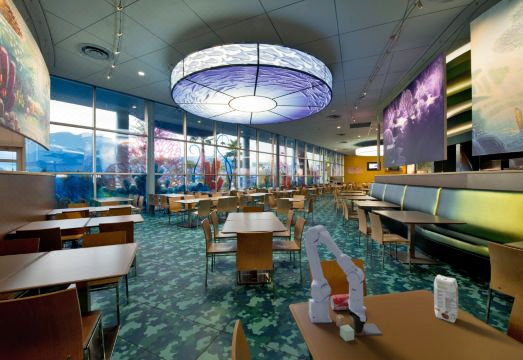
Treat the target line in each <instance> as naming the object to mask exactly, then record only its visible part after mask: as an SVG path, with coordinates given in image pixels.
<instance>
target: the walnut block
mask: <svg viewBox="0 0 523 360" xmlns="http://www.w3.org/2000/svg"><path fill="white" fill-rule="evenodd" d="M348 316H349V319H348V320H349V324H348V325H349V326H350V327H351V328H352V329H353V330H354V336H365V333H364V327H363V331H362V333H357V332H356V327H355V322H354V319H353V317H352V316H357V315H349V314H348Z"/></svg>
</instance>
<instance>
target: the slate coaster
mask: <svg viewBox="0 0 523 360" xmlns="http://www.w3.org/2000/svg"><path fill="white" fill-rule="evenodd" d="M382 334H383V333H382V332H381V330H380V329H379V328H378V327H377V325H375V323H365V324H364V336H366V335H367V336H370V335H371V336H372V335H373V336H376V335H379V336H382Z"/></svg>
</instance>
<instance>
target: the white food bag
mask: <svg viewBox="0 0 523 360" xmlns="http://www.w3.org/2000/svg"><path fill="white" fill-rule="evenodd" d="M433 297H434V298H433V301H434V302H433V305H434V306H433V308H434V309H433V310H434V315H435V317H436V318H438V319H441V320H444V321H446V322H450V323H452V324H455V322H456V320H457V318H458V316H459V285H458V282H457V279H456V278H454V277H449V276H448V277H447V276H444V275H441V274H437V275H436V276H435V277H434V282H433Z"/></svg>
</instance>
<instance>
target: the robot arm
mask: <svg viewBox="0 0 523 360" xmlns="http://www.w3.org/2000/svg"><path fill="white" fill-rule="evenodd" d="M318 243H320V244H324V245H325V246H326V247H327V248H328V250H329V251H330V252H331V253H332V254H333V256H335V258H336V263H337V265H338V266H339V267H340V269H342V271H343V273H344V274H345V275H346V281H347V282H348V294H349V300H348V304H349V307H347V310H346V311H347V313H348V316H349V315H357V316H352V317H353V319H354V322H355V327H356V332H357V333H362V331H363V327H364V324H366V323H367V321H368V318H367V317H366V313H365V311H366V310H367V308H366V306H364V282H363V281H364V279H365V277H366V276H365V273H364V271H363V269H362V268H360V267H359V266H357V265H356V264H355V263H354V262H353V261H352V257H351V256H350V255H348V254H346V253H343V252H342V250H341V249H340V247H339V246H338V244H337V243H336V242H335V240H334V239H333V237H332V235H331V234H330V232H329V230H327V228H326V227H325V226H324V225H322V224H317V225H316V226H313V227H309V228H308V229H306V231H305V238H304V246H305V247H304V248H305V251H306V256H307V259H308V260H307V261H308V265H309V269H310V273H311V277H312V281H311V284H310V289H311V292H310V295H311V298H308V316H309V319H310V321H311V323H333V320H332V317H330V295H332V288H331V285H329V283H328V280H327V279H326V278H325V277H324V272H323V269H322V264H321V259H320V256H319V252H318V248H317V245H318Z"/></svg>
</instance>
